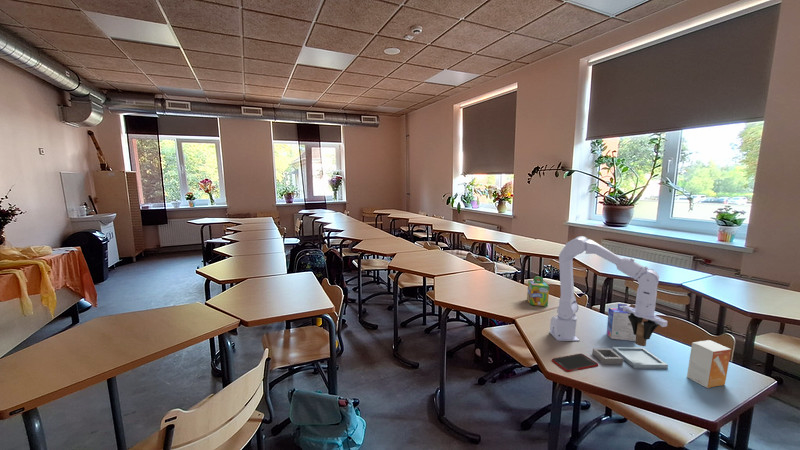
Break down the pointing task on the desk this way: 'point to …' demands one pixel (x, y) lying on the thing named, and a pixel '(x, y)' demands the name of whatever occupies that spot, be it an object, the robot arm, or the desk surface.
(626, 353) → the tray
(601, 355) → the square frame
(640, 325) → the pin
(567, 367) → the cell phone
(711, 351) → the small box
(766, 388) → the desk surface
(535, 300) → the chalk box
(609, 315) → the ink cartridge box
